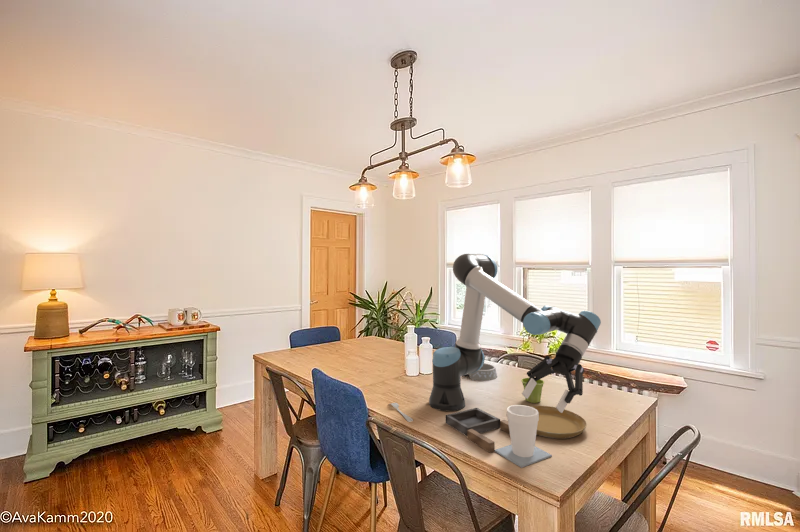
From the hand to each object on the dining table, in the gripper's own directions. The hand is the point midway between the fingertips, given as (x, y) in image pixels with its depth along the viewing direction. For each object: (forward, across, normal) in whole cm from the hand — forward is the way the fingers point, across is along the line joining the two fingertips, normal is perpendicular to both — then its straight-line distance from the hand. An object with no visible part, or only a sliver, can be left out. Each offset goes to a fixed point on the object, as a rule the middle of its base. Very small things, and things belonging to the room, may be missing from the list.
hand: (540, 403), depth 117 cm
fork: (+29, +49, +7) cm, 57 cm away
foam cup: (+16, 0, -5) cm, 16 cm away
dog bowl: (-14, +72, -36) cm, 82 cm away
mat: (+16, 0, -5) cm, 17 cm away
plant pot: (-11, +31, -33) cm, 47 cm away
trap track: (+16, +18, -5) cm, 25 cm away
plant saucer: (-1, +10, -22) cm, 24 cm away
